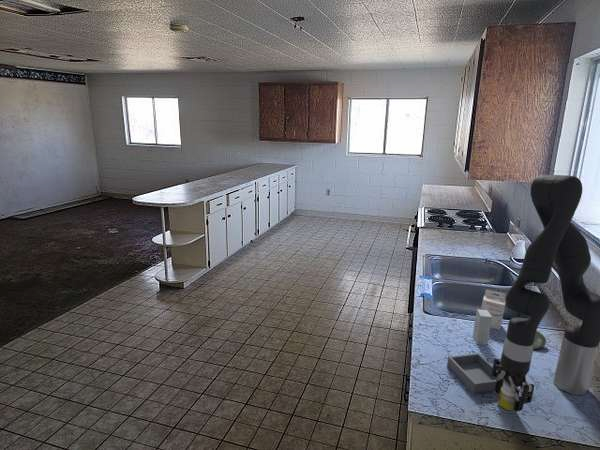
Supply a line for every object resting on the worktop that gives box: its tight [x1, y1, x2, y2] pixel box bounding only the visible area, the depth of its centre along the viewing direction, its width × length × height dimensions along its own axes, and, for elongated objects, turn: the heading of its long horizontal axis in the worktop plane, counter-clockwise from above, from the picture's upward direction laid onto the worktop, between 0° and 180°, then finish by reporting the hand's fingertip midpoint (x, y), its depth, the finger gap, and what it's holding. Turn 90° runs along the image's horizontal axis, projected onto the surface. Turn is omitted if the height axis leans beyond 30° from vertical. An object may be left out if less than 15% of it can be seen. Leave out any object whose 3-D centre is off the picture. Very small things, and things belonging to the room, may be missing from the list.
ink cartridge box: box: [480, 289, 507, 331], centre depth 168 cm, size 9×5×15 cm, turn 59°
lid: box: [533, 330, 547, 350], centre depth 156 cm, size 11×10×5 cm
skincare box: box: [472, 308, 492, 345], centre depth 156 cm, size 6×4×12 cm
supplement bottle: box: [497, 381, 519, 414], centre depth 120 cm, size 5×5×8 cm
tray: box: [446, 352, 504, 396], centre depth 135 cm, size 12×15×4 cm
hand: (507, 400), depth 121 cm, fingers open, 7 cm apart
